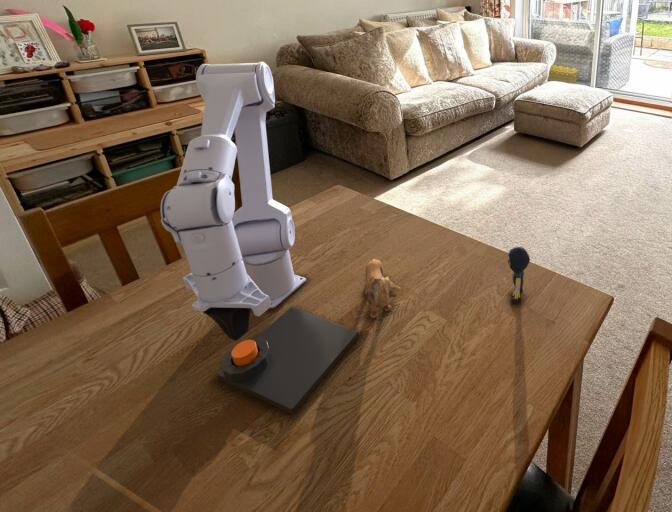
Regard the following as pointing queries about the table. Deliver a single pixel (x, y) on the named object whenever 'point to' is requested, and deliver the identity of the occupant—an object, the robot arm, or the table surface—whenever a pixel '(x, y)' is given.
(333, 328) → the scale
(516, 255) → the character figure
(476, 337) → the table surface
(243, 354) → the button
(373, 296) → the lion figurine
